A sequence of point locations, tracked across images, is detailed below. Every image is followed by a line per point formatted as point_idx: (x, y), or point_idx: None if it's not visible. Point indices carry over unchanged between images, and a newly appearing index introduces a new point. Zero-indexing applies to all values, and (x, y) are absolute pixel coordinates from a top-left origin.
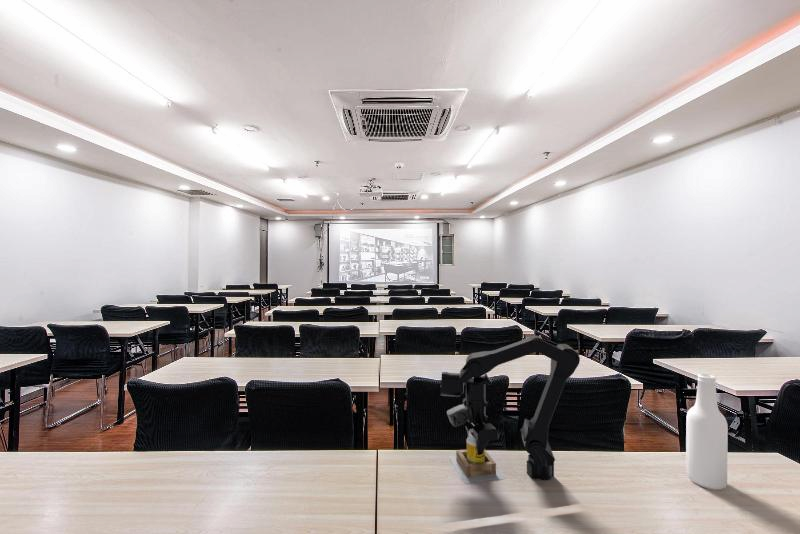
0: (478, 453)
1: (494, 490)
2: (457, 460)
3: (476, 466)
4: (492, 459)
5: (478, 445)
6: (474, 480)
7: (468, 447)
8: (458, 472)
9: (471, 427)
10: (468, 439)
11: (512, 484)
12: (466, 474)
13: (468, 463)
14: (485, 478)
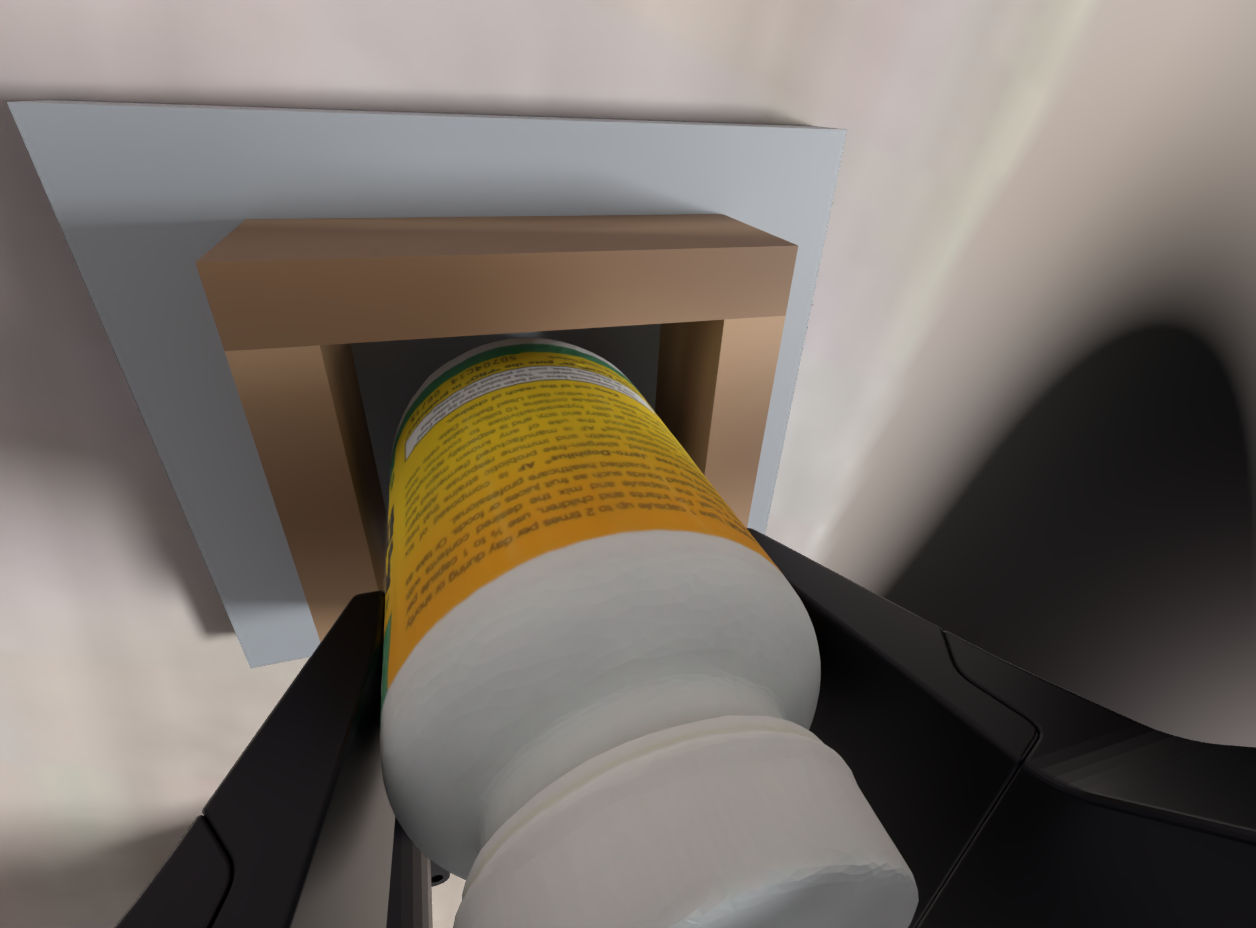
0: (342, 620)
1: (71, 506)
2: (685, 218)
3: (265, 447)
4: None
5: (205, 839)
6: (157, 313)
7: (521, 494)
8: (399, 118)
9: (981, 857)
10: (630, 629)
11: (236, 679)
12: (262, 225)
13: (340, 333)
14: (234, 476)
